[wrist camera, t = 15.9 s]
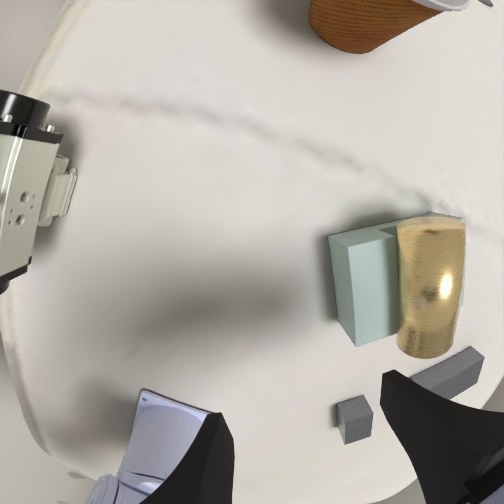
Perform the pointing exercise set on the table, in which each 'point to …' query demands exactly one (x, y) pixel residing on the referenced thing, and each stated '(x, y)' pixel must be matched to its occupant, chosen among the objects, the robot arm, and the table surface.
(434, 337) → the gold rounded piece
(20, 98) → the pneumatic valve
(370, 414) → the grey rectangular blocks
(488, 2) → the half round rod
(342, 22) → the disposable coffee cup
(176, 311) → the table surface
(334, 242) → the v block
